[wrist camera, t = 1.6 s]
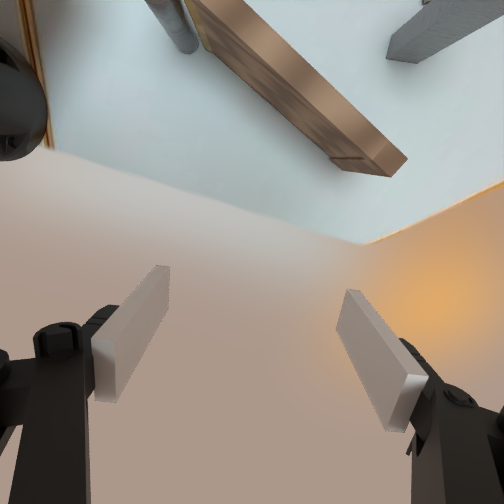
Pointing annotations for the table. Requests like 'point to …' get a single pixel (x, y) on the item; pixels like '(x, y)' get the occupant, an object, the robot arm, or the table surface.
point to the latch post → (441, 27)
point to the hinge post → (176, 23)
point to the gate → (293, 86)
